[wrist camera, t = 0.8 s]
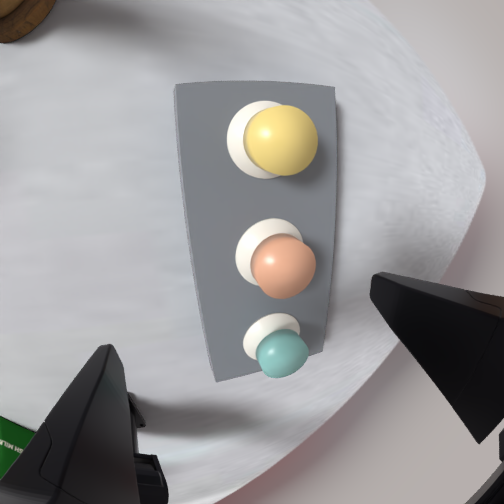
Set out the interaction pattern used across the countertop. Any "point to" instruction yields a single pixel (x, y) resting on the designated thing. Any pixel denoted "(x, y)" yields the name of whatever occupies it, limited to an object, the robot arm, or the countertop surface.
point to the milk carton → (11, 443)
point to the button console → (252, 215)
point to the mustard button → (280, 140)
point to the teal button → (281, 353)
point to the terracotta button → (282, 265)
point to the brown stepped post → (21, 17)
